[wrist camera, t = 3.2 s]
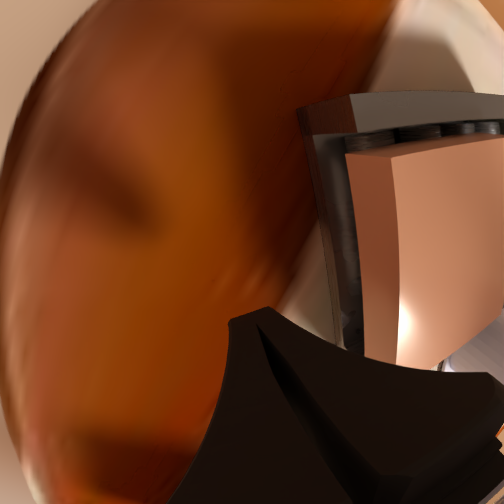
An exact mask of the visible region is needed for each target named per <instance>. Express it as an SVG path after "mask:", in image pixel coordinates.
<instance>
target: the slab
mask: <svg viewBox="0 0 504 504" xmlns="http://www.w3.org/2000/svg"><path fill="white" fill-rule="evenodd" d="M345 157H346V162H347V168H348V174H349V180H350V186H351V193H352V199H353V206H354V214H355V221H356V230H357V238H358V247H359V257H360V269H361V281H362V295H363V314H364V342H365V357H368V358H371V359H375V360H378V361H382V362H386V363H391V364H395V365H400V366H404V367H410V368H416V369H424V370H429V369H431V368H432V367H434V366H435V365H437V364H438V363H440V362H441V361H443V360H444V359H445V358H447V357H448V356H450V355H451V354H452V353H454V352H455V351H456V350H458V349H459V348H460V347H462V346H463V345H464V344H466V343H467V342H468V341H470V340H471V339H472V338H473V337H475V336H476V335H477V334H478V333H480V332H481V331H482V330H483V329H484V328H486V327H487V326H488V325H489V324H490V323H492V322H493V321H494V320H495V319H496V318H497V317H498V316H500V315H501V312H502V307H503V303H504V135H498V134H489V133H478V132H473V133H465V134H457V135H449V136H442V137H435V138H428V139H422V140H416V141H410V142H404V143H398V144H392V145H387V146H381V147H376V148H371V149H366V150H361V151H356V152H351V153H346V154H345Z"/></svg>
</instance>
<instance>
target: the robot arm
mask: <svg viewBox="0 0 504 504" xmlns="http://www.w3.org/2000/svg"><path fill="white" fill-rule="evenodd" d="M228 326H229V345H228V354H227V362H226V368H225V373H224V377H223V382H222V387H221V391H220V394H219V398H218V401H217V405H216V408H215V411H214V414H213V416H212V419H211V422H210V424H209V427H208V429H207V432H206V434H205V437H204V439H203V441H202V443H201V445H200V448H199V450H198V452H197V453H196V455H195V457H194V459H193V461H192V463H191V465H190V466H189V468H188V470H187V472H186V474H185V475H184V477H183V479H182V481H181V482H180V484H179V485H178V487H177V488H176V490H175V491H174V493H173V494H172V496H171V497H170V498H169V500H168V501H167V503H166V504H486V503H487V502H488V501H489V500H490V499H491V498H492V497H493V496H494V495H495V494H497V493H498V492H499V491H500V489H502V488H503V487H504V455H503V454H502V453H501V452H500V451H499V449H500V448H501V447H502V443H501V442H500V441H499V440H498V439H497V438H496V437H495V436H496V434H497V433H498V431H499V430H500V428H501V427H502V425H503V423H504V308H503V309H502V312H501V315H500V316H498V317H497V318H496V319H495V320H494V321H493V322H492V323H490V324H489V325H488V326H487V327H486V328H484V329H483V330H482V331H481V332H480V333H478V334H477V335H476V336H475V337H473V338H472V339H471V340H470V341H468V342H467V343H466V344H464V345H463V346H462V347H460V348H459V349H458V350H456V351H455V352H454V353H452V354H451V355H450V356H448V357H447V358H445V359H444V362H443V366H442V371H433V370H424V369H416V368H410V367H404V366H400V365H395V364H391V363H386V362H382V361H378V360H375V359H371V358H368V357H365V356H362V355H359V354H356V353H353V352H350V351H348V350H345V349H343V348H340V347H338V346H336V345H334V344H332V343H329V342H327V341H325V340H323V339H321V338H319V337H317V336H315V335H314V334H312V333H310V332H308V331H307V330H305V329H303V328H301V327H300V326H298V325H296V324H295V323H293V322H292V321H290V320H288V319H287V318H285V317H284V316H282V315H281V314H280V313H278V312H277V311H275V310H274V309H273V308H271V307H269V306H267V307H264V308H262V309H259V310H256V311H253V312H250V313H247V314H244V315H241V316H238V317H235V318H233V319H230V321H229V322H228ZM493 504H504V494H503V495H502V496H501V497H500V498H499V499H498V500H497V501H495V502H494V503H493Z"/></svg>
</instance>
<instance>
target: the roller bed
mask: <svg viewBox="0 0 504 504" xmlns="http://www.w3.org/2000/svg"><path fill="white" fill-rule="evenodd" d="M296 111H297V115H298V119H299V124H300V128H301V132H302V137H303V141H304V146H305V150H306V155H307V159H308V164H309V169H310V174H311V179H312V184H313V189H314V194H315V200H316V205H317V211H318V216H319V222H320V228H321V234H322V240H323V246H324V253H325V259H326V266H327V273H328V280H329V287H330V295H331V303H332V311H333V319H334V328H335V338H336V346H338V347H340V348H343V349H345V350H348V351H350V352H353V353H356V354H359V355H362V356H365V342H364V314H363V295H362V281H361V269H360V257H359V247H358V238H357V230H356V221H355V214H354V206H353V199H352V193H351V186H350V180H349V174H348V168H347V162H346V157H345V154H346V153H351V152H356V151H361V150H366V149H371V148H376V147H381V146H387V145H392V144H398V143H404V142H410V141H416V140H422V139H428V138H435V137H442V136H449V135H457V134H465V133H473V132H478V133H489V134H498V135H504V95H495V94H485V93H473V92H455V91H391V92H373V93H359V94H349V95H345V96H341V97H337V98H333V99H329V100H325V101H322V102H318V103H315V104H311V105H308V106H304V107H301V108H297V109H296ZM503 308H504V303H503V307H502V309H503Z"/></svg>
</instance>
